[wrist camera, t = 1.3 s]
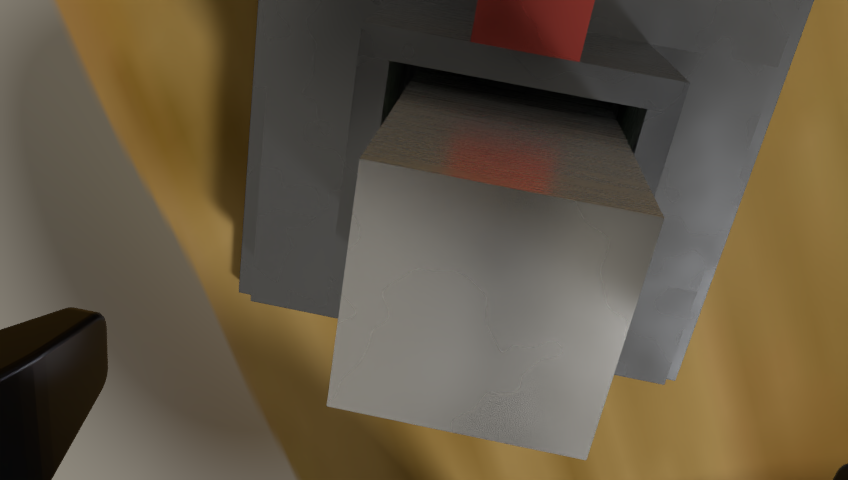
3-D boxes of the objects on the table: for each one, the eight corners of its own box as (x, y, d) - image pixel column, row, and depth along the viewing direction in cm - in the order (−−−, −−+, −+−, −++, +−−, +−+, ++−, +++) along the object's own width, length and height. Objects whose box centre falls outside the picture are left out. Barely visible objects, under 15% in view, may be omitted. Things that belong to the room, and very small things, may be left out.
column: (556, 207, 21) (591, 466, 11) (412, 179, 21) (319, 409, 11) (594, 60, 19) (674, 212, 9) (437, 31, 20) (353, 149, 10)
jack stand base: (671, 371, 24) (729, 540, 17) (243, 285, 24) (145, 416, 18) (845, -110, 18) (1027, -125, 11) (278, -208, 18) (151, -276, 12)
